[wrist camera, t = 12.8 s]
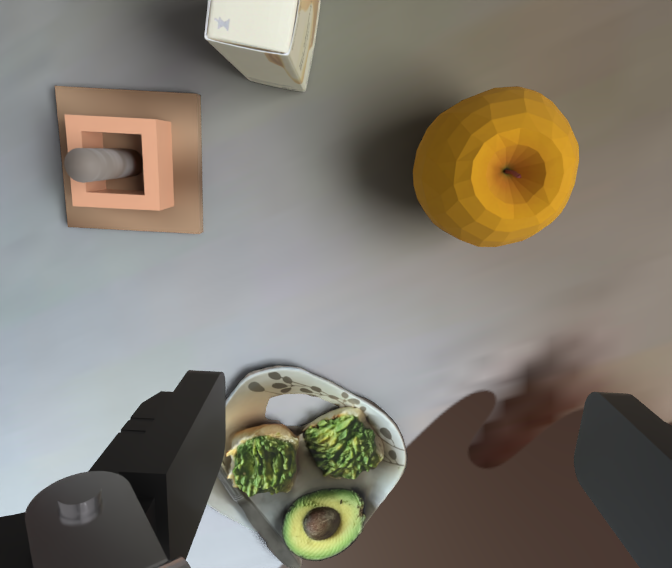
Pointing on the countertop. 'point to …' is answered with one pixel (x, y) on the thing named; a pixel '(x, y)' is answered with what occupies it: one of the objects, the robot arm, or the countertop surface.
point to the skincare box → (266, 38)
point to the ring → (155, 162)
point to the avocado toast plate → (305, 466)
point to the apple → (496, 167)
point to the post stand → (134, 157)
